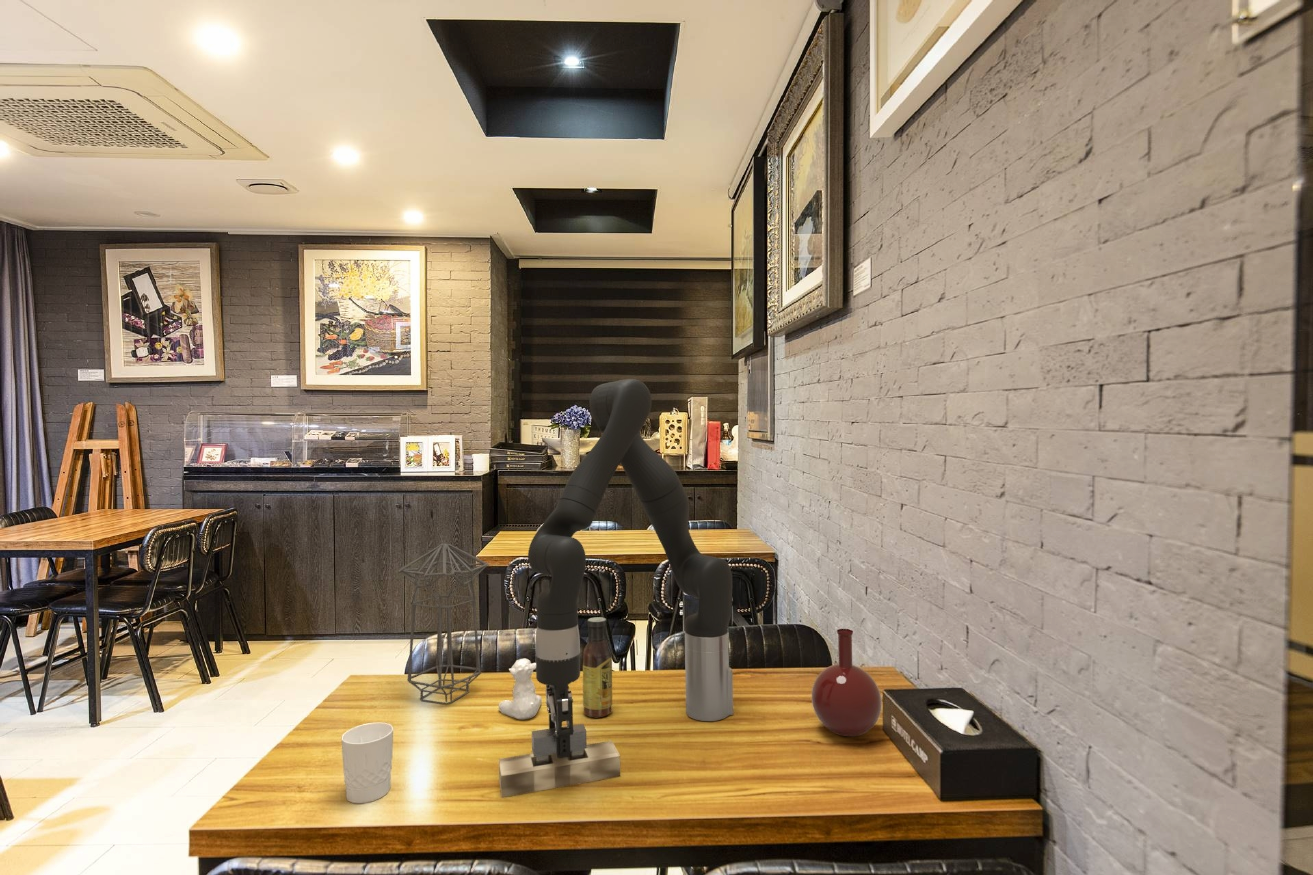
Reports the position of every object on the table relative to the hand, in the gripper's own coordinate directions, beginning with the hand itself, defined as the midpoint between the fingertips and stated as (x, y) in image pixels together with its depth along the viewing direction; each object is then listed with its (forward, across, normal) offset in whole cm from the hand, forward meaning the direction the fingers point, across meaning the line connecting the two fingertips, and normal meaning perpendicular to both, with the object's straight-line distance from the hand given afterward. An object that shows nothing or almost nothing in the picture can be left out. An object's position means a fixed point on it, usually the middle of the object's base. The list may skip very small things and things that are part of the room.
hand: (559, 745), depth 110 cm
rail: (+6, 0, 0) cm, 6 cm away
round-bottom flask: (+6, -2, -56) cm, 56 cm away
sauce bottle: (+6, +24, -12) cm, 27 cm away
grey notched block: (+6, 0, 0) cm, 6 cm away
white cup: (+6, +6, +31) cm, 32 cm away
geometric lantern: (+6, +46, +19) cm, 50 cm away
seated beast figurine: (+6, +29, +3) cm, 30 cm away
